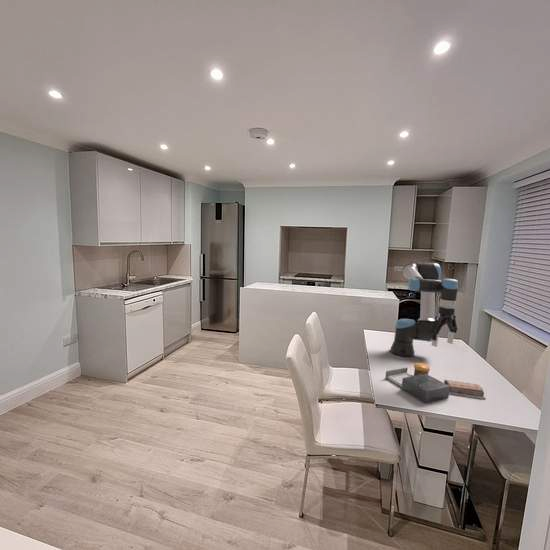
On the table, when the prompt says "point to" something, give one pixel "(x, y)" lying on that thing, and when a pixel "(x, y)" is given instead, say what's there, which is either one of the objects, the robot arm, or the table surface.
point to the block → (419, 372)
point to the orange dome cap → (422, 367)
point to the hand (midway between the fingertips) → (442, 344)
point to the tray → (397, 375)
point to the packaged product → (465, 389)
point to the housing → (425, 388)
